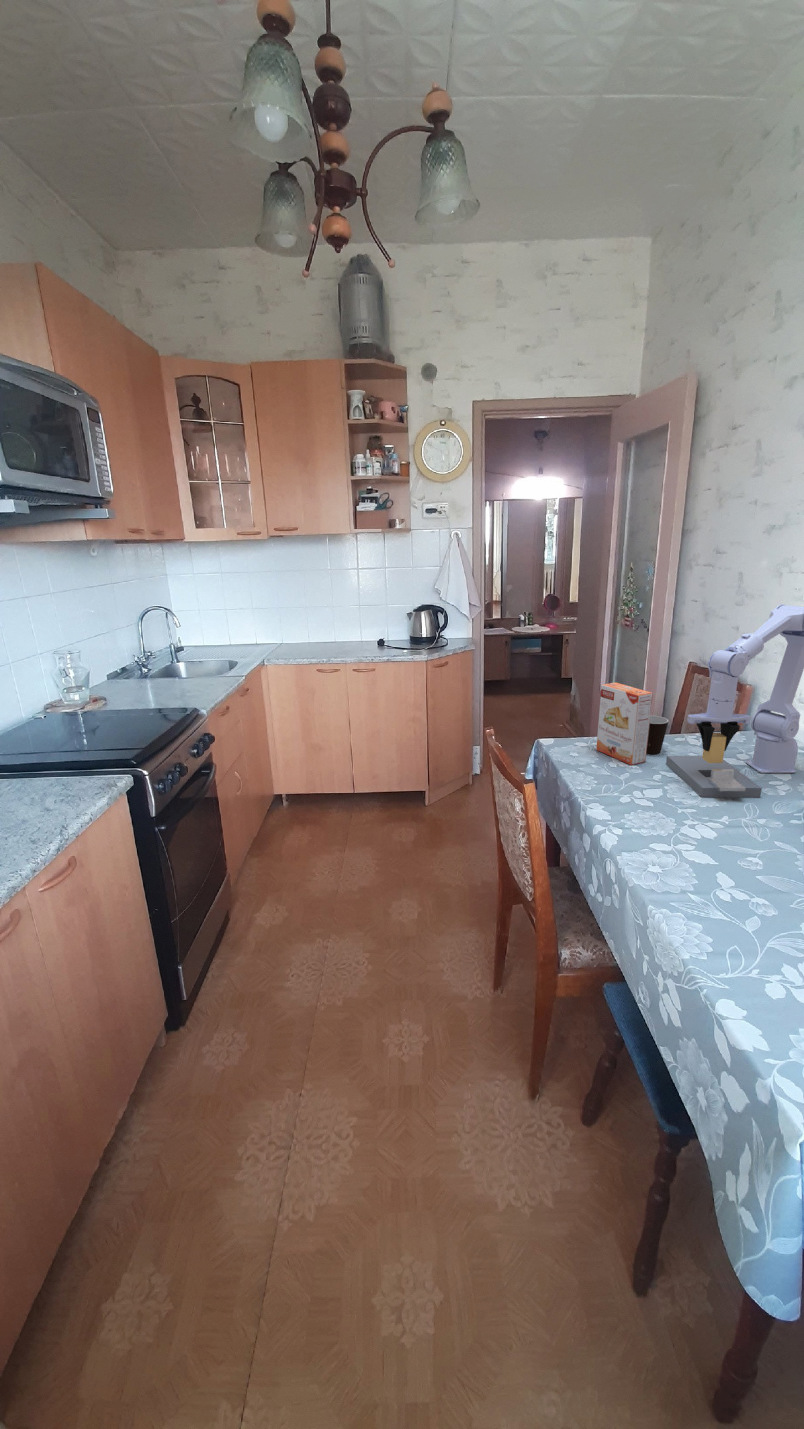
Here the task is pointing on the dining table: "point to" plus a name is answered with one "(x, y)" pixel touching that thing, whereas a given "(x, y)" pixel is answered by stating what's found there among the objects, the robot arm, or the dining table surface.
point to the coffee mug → (656, 734)
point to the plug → (715, 749)
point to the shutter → (725, 780)
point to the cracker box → (624, 722)
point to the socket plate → (699, 771)
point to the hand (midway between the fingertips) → (714, 749)
